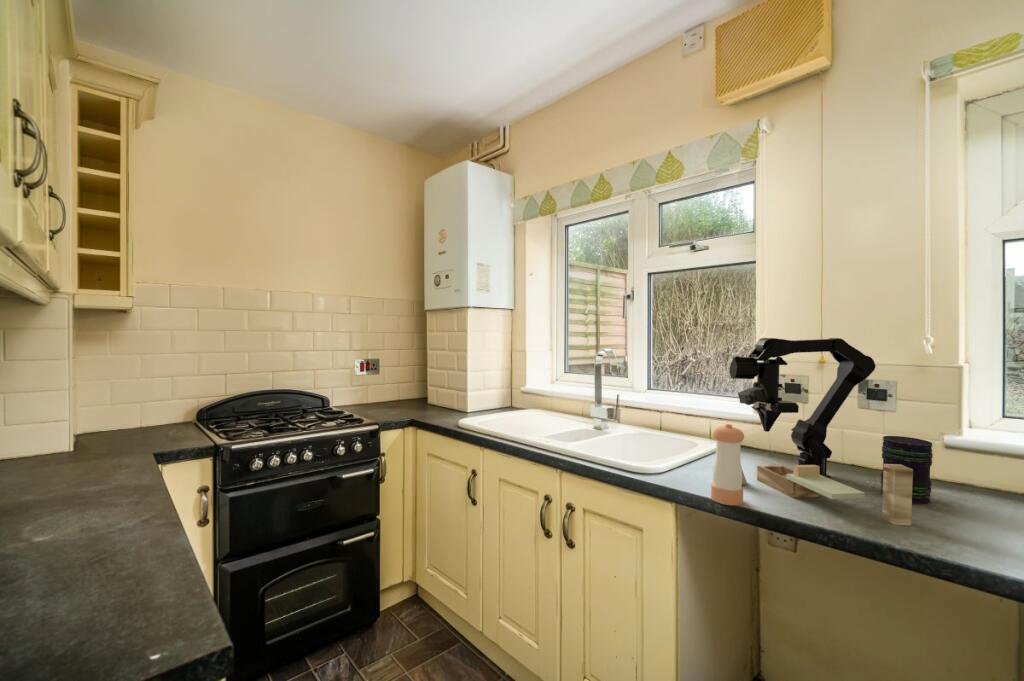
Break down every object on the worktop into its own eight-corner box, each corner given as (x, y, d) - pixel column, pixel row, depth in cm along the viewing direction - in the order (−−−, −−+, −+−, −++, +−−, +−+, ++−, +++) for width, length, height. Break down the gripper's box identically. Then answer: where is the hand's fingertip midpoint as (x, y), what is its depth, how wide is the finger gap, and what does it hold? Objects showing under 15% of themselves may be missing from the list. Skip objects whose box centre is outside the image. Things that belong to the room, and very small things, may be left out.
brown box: (881, 517, 104) (883, 463, 104) (899, 518, 104) (900, 464, 103) (893, 524, 100) (895, 468, 100) (911, 525, 100) (913, 469, 100)
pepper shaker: (706, 500, 113) (708, 424, 113) (716, 492, 119) (718, 420, 118) (737, 508, 108) (739, 428, 108) (746, 500, 114) (748, 424, 113)
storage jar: (931, 497, 117) (933, 440, 117) (931, 508, 110) (933, 447, 110) (881, 488, 124) (883, 433, 124) (878, 497, 117) (880, 440, 117)
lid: (815, 477, 119) (816, 463, 119) (864, 498, 104) (865, 482, 104) (786, 478, 118) (786, 464, 118) (831, 499, 103) (832, 483, 103)
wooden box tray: (782, 479, 130) (783, 465, 130) (821, 496, 117) (821, 481, 116) (756, 479, 130) (757, 465, 129) (792, 497, 116) (793, 482, 116)
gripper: (724, 376, 144) (723, 425, 144) (764, 383, 125) (762, 439, 126) (757, 376, 145) (755, 424, 146) (800, 383, 127) (799, 438, 127)
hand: (766, 431), depth 136 cm, fingers closed
